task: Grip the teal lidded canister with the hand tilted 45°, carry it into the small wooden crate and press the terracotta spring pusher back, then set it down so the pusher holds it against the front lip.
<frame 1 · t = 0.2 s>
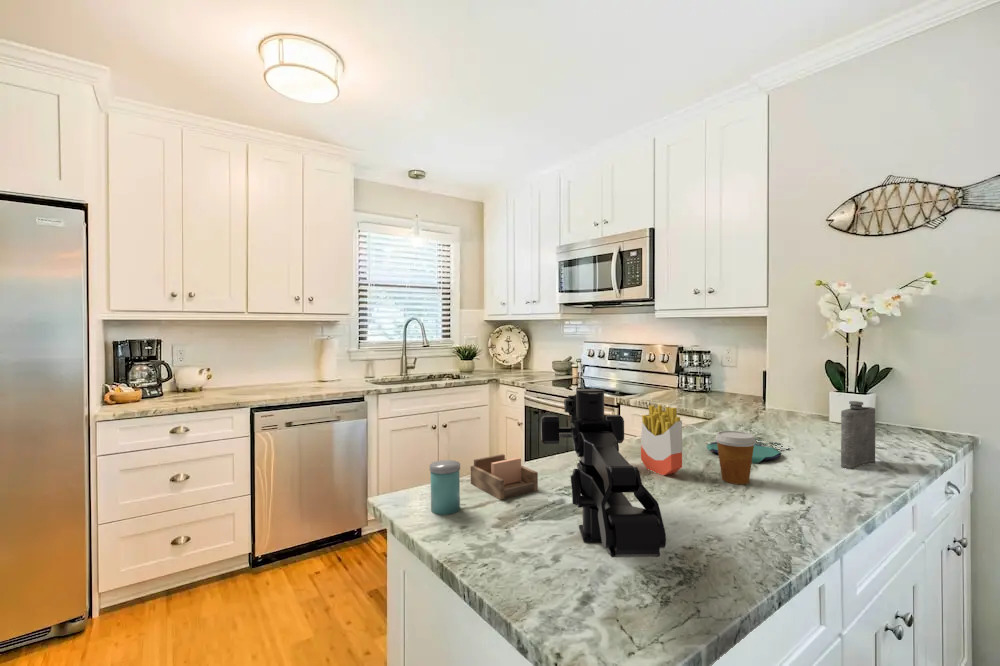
hand: (576, 422, 116), 17 cm above the worktop, tool horizontal, fingers open, 9 cm apart
disposable coffee cup: (735, 481, 122), on the worktop
small wooden crate: (501, 485, 120), on the worktop
flask: (856, 465, 135), on the worktop
cup: (598, 466, 136), on the worktop
pusher: (506, 471, 118), point 4 cm above the worktop, slide at 0.0 cm
teal lidded canister: (445, 509, 105), on the worktop
french fries container: (660, 472, 129), on the worktop
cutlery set: (751, 453, 149), on the worktop
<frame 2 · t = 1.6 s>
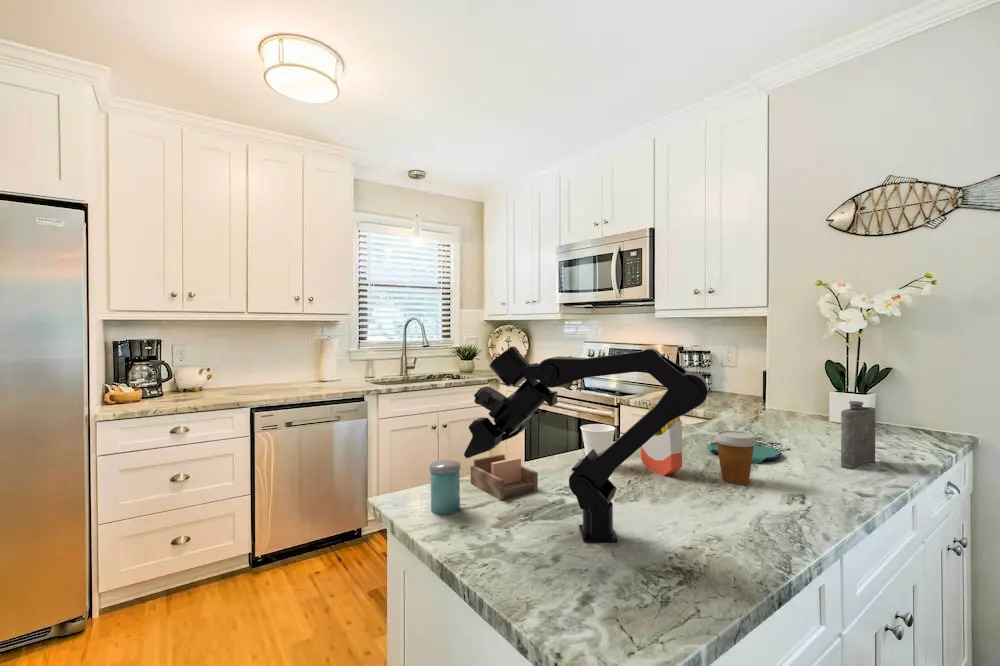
hand: (475, 450, 102), 14 cm above the worktop, tool tilted 45°, fingers open, 9 cm apart
nothing on the worktop moved.
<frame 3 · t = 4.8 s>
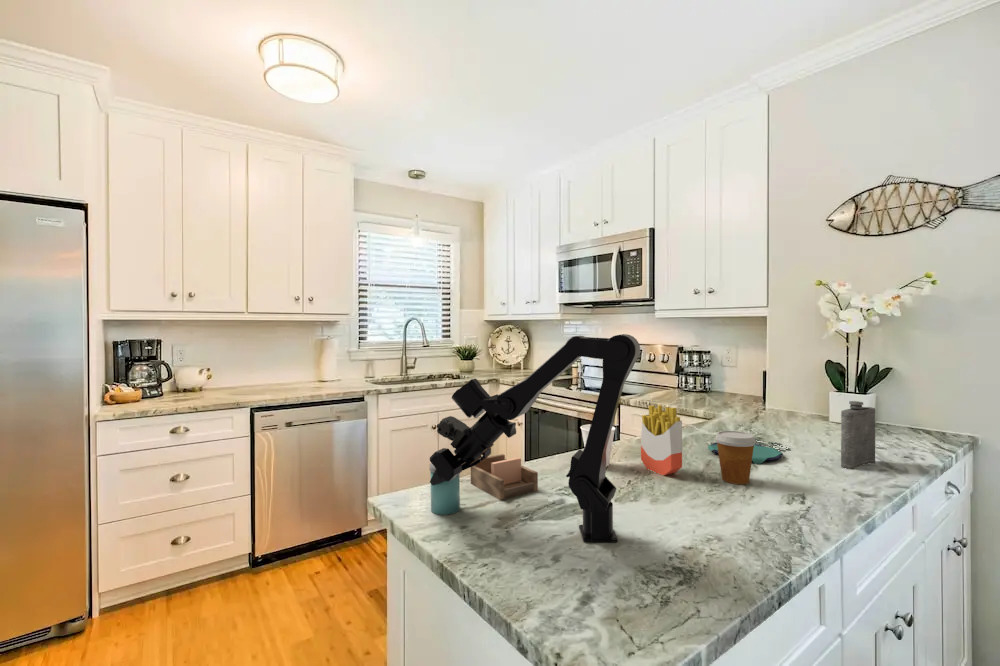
hand: (439, 478, 105), 7 cm above the worktop, tool tilted 45°, fingers closed on teal lidded canister, 6 cm apart
teal lidded canister: (445, 509, 105), on the worktop, touching gripper
everything else where it was.
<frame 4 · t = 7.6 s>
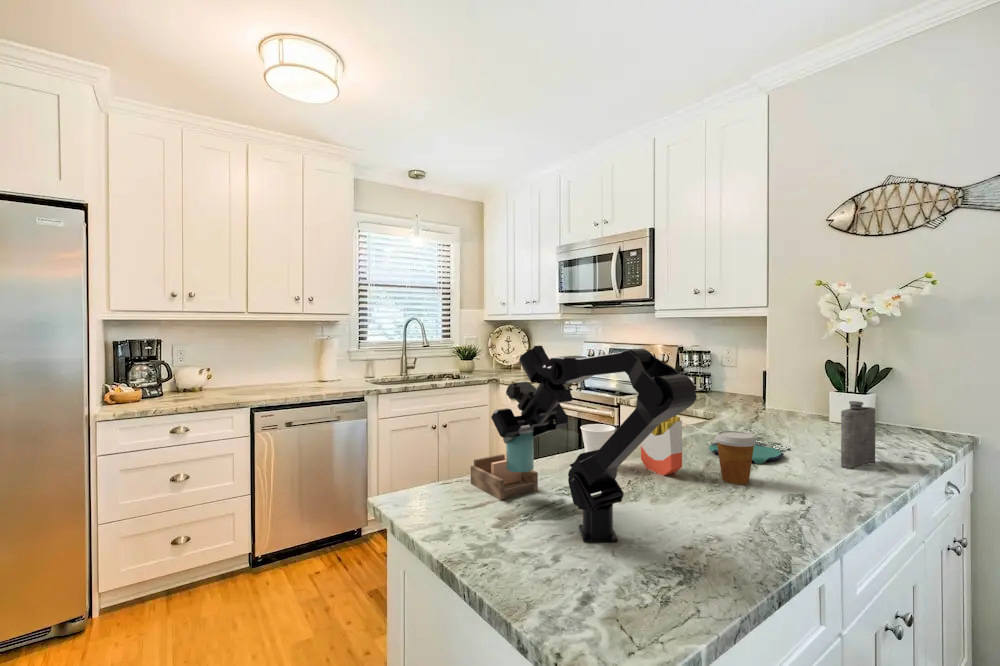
hand: (516, 439, 113), 13 cm above the worktop, tool tilted 45°, fingers closed on teal lidded canister, 6 cm apart
teal lidded canister: (520, 468, 112), point 7 cm above the worktop, touching gripper
everything else where it was.
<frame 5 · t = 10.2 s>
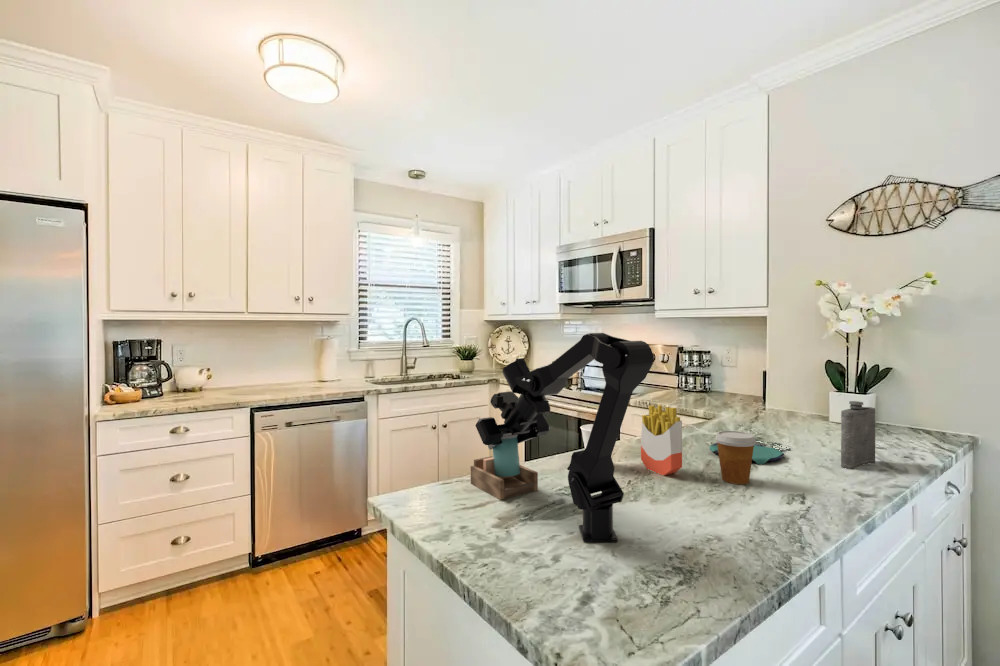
hand: (500, 445, 120), 10 cm above the worktop, tool tilted 45°, fingers closed on teal lidded canister, 6 cm apart
pusher: (498, 468, 121), point 4 cm above the worktop, slide at 3.7 cm
teal lidded canister: (507, 474, 117), point 4 cm above the worktop, tilted 9°, touching gripper
everything else where it was.
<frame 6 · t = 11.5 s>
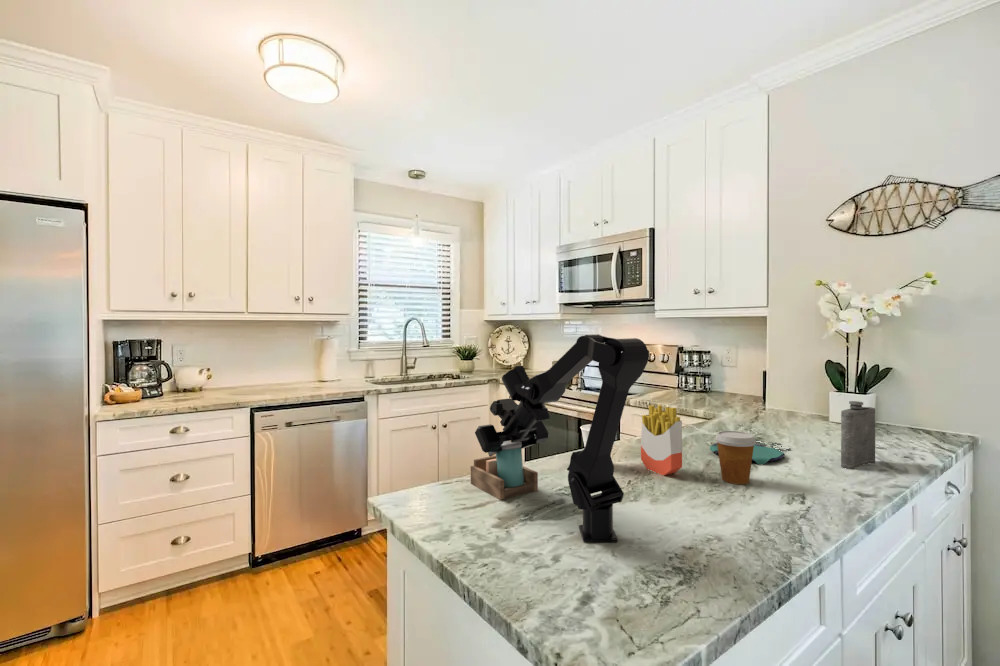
hand: (500, 452, 120), 8 cm above the worktop, tool tilted 45°, fingers closed on teal lidded canister, 6 cm apart
pusher: (501, 469, 120), point 4 cm above the worktop, slide at 2.4 cm, touching teal lidded canister
teal lidded canister: (511, 484, 116), point 2 cm above the worktop, tilted 7°, touching gripper, small wooden crate, pusher
everything else where it was.
when the fingers open (8 cm above the worktop, at t = 12.0 s): teal lidded canister stays where it is, resting on small wooden crate, pusher.
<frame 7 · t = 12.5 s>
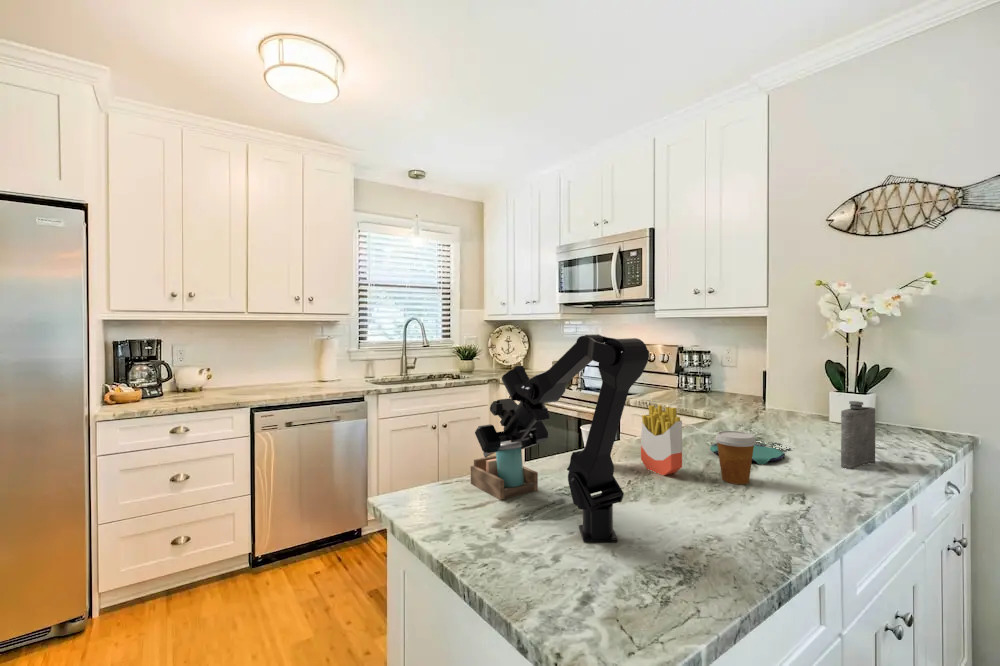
hand: (500, 452, 120), 8 cm above the worktop, tool tilted 45°, fingers open, 9 cm apart
teal lidded canister: (511, 484, 116), point 2 cm above the worktop, tilted 7°, touching small wooden crate, pusher
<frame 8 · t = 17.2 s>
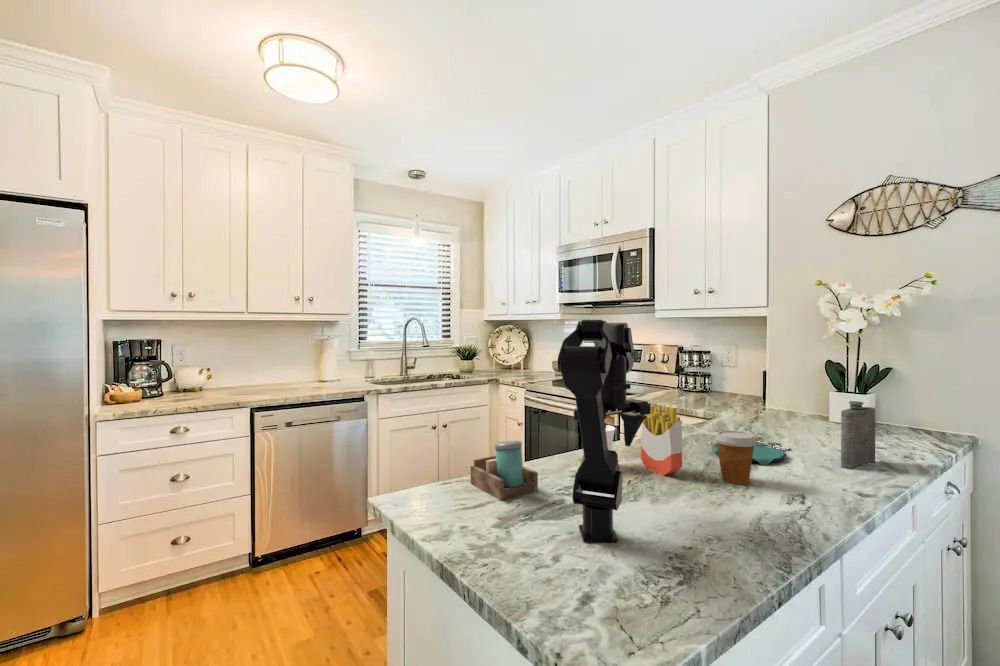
hand: (613, 449, 105), 13 cm above the worktop, tool pointing down, fingers open, 9 cm apart
at the end: teal lidded canister 0.5 cm from the target spot on the small wooden crate, point 1.7 cm above the small wooden crate's base; teal lidded canister tilted 7°; pusher slide at 2.4 cm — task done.
